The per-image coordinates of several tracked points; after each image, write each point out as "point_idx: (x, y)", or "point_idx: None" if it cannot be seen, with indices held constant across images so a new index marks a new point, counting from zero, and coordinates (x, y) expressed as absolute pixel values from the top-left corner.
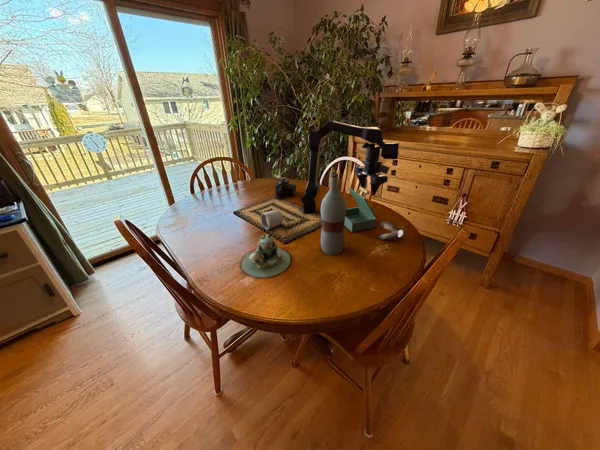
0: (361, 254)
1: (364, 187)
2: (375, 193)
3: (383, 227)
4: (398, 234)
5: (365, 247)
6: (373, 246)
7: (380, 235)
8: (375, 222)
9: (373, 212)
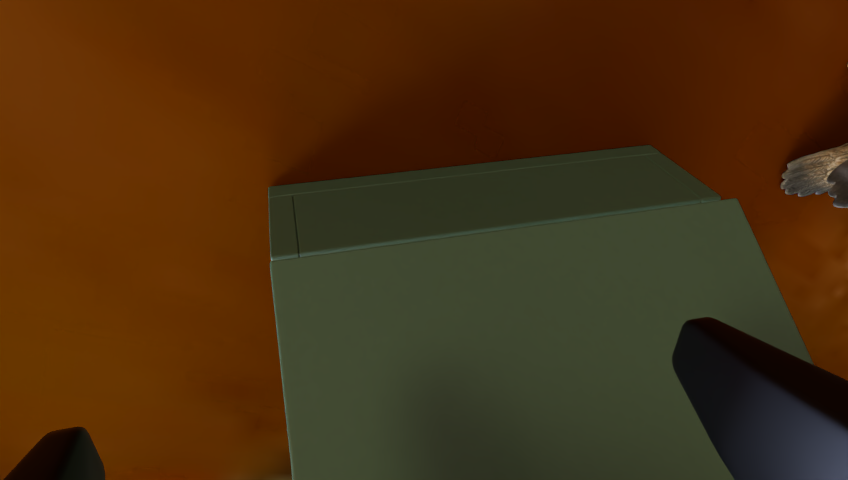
0: (827, 365)
1: (67, 468)
2: (767, 353)
3: (839, 165)
4: None
5: (801, 326)
6: (831, 278)
7: (794, 176)
8: (689, 174)
9: (783, 303)
